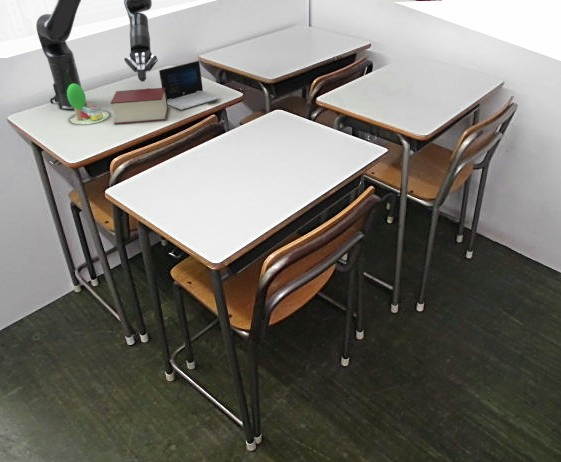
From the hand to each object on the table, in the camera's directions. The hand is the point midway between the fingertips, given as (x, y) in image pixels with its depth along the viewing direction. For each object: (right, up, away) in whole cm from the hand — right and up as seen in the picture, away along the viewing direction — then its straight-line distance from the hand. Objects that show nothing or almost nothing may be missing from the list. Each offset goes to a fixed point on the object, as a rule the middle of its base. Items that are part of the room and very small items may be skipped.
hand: (142, 80), depth 202 cm
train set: (-18, -15, -5) cm, 25 cm away
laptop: (+18, -7, +5) cm, 20 cm away
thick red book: (+2, -15, -6) cm, 16 cm away
